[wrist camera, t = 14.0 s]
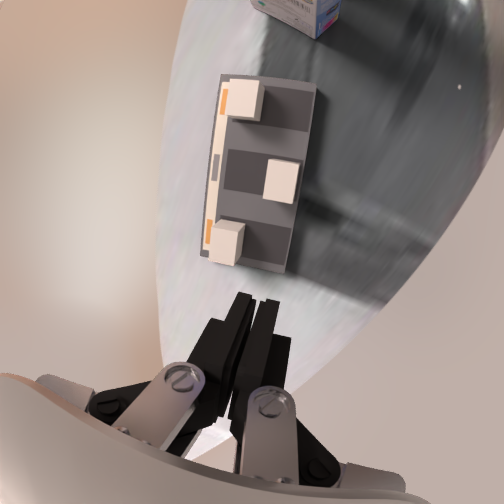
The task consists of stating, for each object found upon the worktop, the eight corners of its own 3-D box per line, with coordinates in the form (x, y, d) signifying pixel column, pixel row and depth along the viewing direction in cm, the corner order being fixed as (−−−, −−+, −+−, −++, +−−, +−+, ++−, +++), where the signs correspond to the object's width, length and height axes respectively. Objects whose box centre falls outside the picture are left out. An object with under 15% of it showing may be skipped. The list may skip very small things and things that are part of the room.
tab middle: (273, 158, 29) (268, 159, 26) (300, 163, 29) (298, 164, 25) (267, 193, 31) (262, 198, 27) (294, 198, 30) (292, 204, 27)
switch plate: (225, 78, 29) (220, 74, 27) (316, 87, 27) (316, 83, 25) (205, 250, 37) (199, 256, 35) (285, 267, 36) (283, 274, 34)
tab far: (221, 219, 33) (211, 227, 30) (245, 223, 32) (238, 232, 29) (217, 249, 34) (208, 260, 31) (241, 254, 34) (233, 266, 31)
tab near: (238, 85, 27) (230, 78, 23) (264, 88, 26) (259, 80, 23) (233, 118, 28) (224, 114, 25) (259, 121, 28) (253, 117, 25)
